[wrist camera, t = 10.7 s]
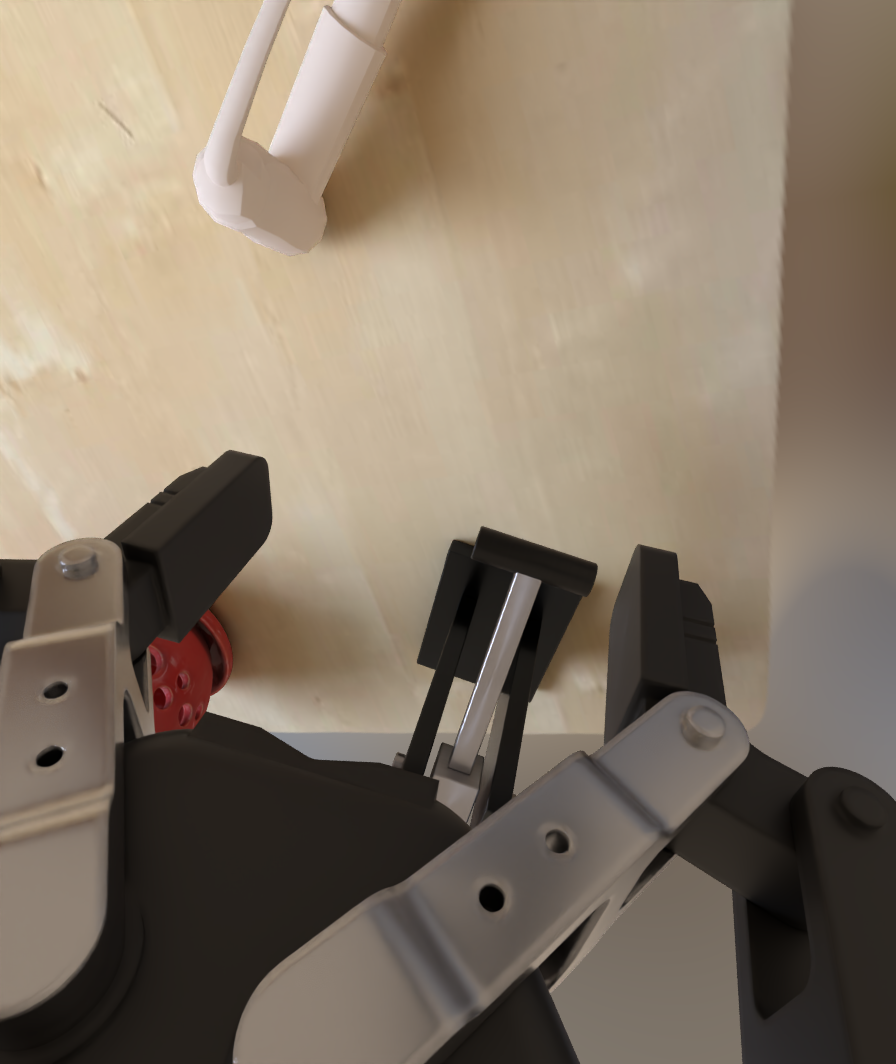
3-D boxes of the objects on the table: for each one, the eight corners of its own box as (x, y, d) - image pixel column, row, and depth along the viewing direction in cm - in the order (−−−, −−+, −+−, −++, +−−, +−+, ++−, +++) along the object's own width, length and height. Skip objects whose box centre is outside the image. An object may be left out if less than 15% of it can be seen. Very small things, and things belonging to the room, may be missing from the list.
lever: (484, 519, 26) (477, 534, 24) (595, 555, 26) (600, 574, 24) (400, 776, 31) (388, 810, 28) (494, 811, 30) (490, 848, 28)
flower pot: (282, 670, 46) (193, 814, 37) (165, 691, 52) (61, 822, 42) (178, 533, 41) (41, 662, 31) (60, 573, 46) (-88, 693, 37)
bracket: (453, 538, 36) (374, 729, 25) (584, 582, 35) (564, 797, 24) (420, 650, 42) (346, 844, 31) (532, 689, 41) (497, 900, 30)
